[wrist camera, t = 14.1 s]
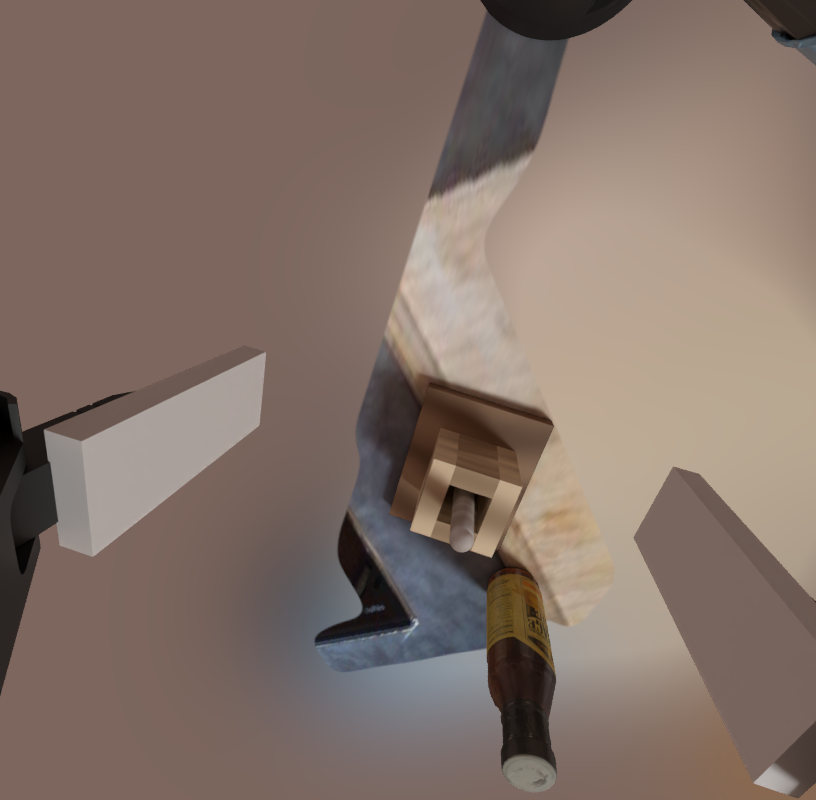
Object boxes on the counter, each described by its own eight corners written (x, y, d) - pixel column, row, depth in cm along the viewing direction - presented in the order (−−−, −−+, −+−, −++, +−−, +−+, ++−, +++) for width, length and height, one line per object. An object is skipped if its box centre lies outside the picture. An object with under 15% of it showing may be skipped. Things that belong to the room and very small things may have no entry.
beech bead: (440, 427, 43) (434, 458, 36) (515, 451, 42) (522, 487, 36) (419, 491, 46) (410, 530, 39) (489, 514, 45) (491, 557, 39)
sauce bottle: (545, 601, 49) (586, 807, 31) (494, 609, 51) (503, 810, 32) (530, 557, 48) (563, 747, 29) (478, 566, 49) (478, 752, 31)
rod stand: (429, 382, 43) (409, 434, 30) (551, 420, 42) (582, 490, 29) (391, 506, 49) (361, 594, 36) (498, 542, 48) (505, 644, 35)
